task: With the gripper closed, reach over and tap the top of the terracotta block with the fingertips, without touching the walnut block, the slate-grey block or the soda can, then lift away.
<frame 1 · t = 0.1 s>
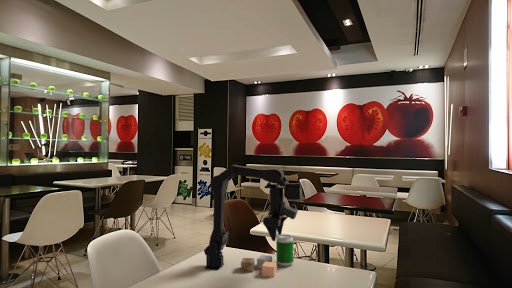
hand: (276, 237, 124), 15 cm above the table, tool pointing down, fingers open, 9 cm apart
terracotta block: (269, 274, 124), on the table
walnut block: (247, 269, 129), on the table
soda can: (285, 264, 134), on the table
slate block: (264, 266, 132), on the table
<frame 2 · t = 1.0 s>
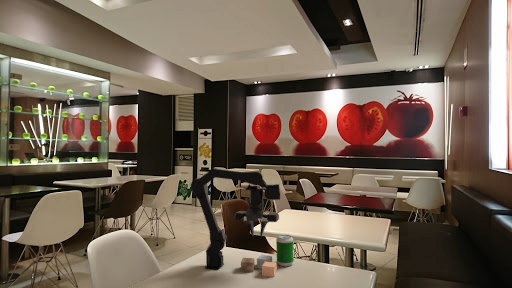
hand: (256, 236, 132), 13 cm above the table, tool pointing down, fingers open, 4 cm apart
nothing on the table moved.
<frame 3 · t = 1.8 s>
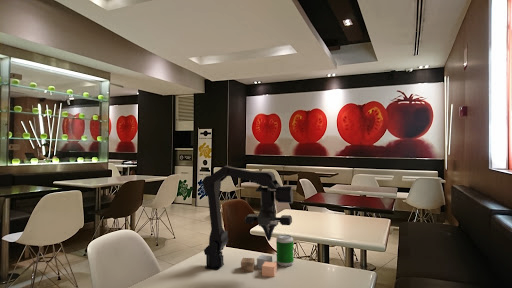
hand: (269, 240, 125), 13 cm above the table, tool pointing down, fingers closed
nothing on the table moved.
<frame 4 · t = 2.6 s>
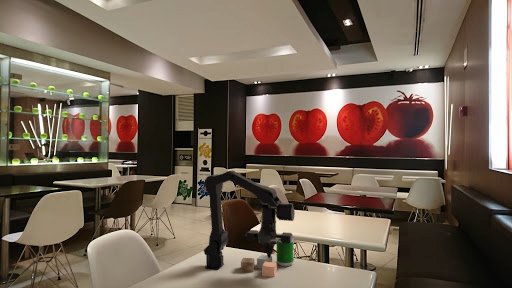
hand: (269, 257, 124), 6 cm above the table, tool pointing down, fingers closed
nothing on the table moved.
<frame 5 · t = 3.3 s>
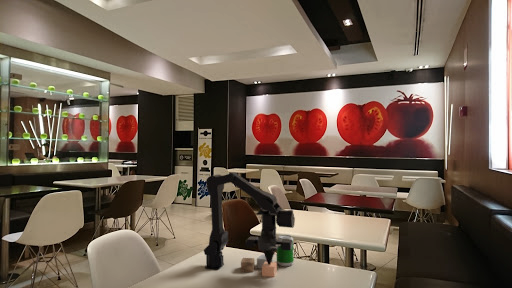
hand: (269, 264, 124), 4 cm above the table, tool pointing down, fingers closed
nothing on the table moved.
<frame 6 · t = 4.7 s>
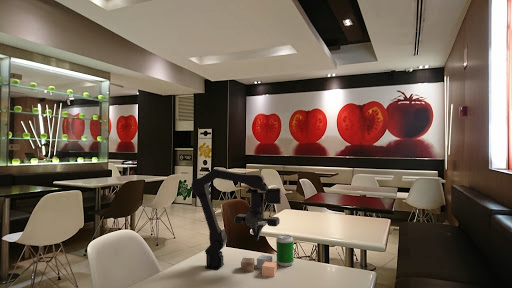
hand: (256, 240, 130), 12 cm above the table, tool pointing down, fingers closed
nothing on the table moved.
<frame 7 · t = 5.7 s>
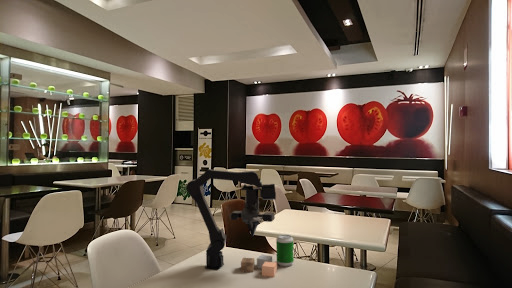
hand: (252, 235, 132), 13 cm above the table, tool pointing down, fingers closed
nothing on the table moved.
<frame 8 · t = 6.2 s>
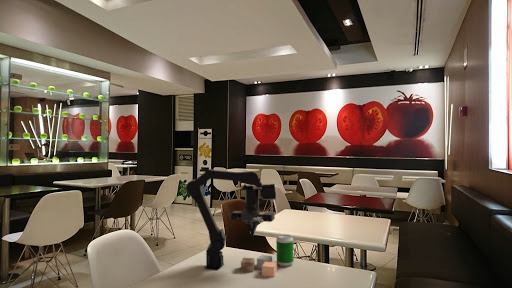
hand: (252, 235, 132), 13 cm above the table, tool pointing down, fingers closed
nothing on the table moved.
at the end: terracotta block moved 0.2 cm from its start; walnut block moved 0.2 cm from its start; slate block moved 0.2 cm from its start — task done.
